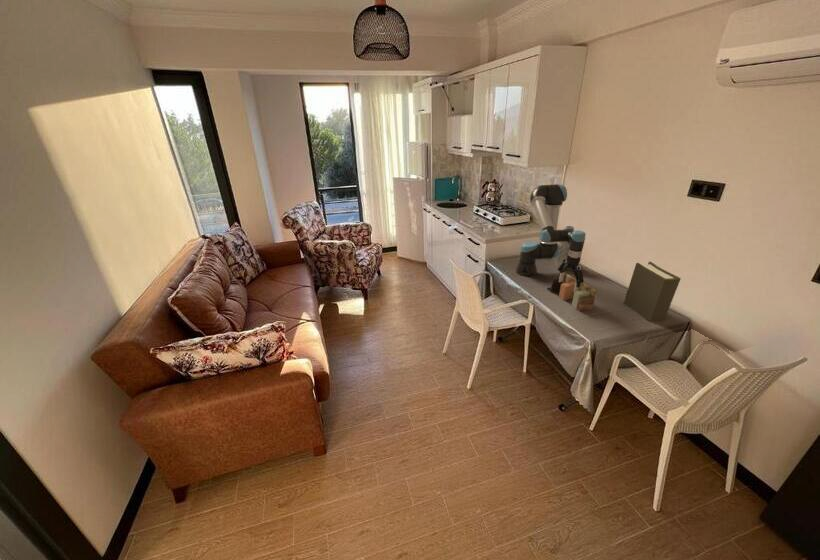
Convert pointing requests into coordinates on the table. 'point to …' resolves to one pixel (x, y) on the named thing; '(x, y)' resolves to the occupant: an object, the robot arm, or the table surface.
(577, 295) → the book green
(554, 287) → the bookend
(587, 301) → the shelf
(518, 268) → the robot arm
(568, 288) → the book rust
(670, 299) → the book
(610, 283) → the table surface
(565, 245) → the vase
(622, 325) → the table surface
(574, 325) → the table surface
